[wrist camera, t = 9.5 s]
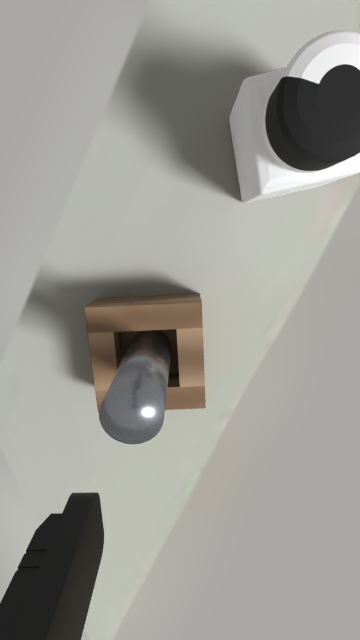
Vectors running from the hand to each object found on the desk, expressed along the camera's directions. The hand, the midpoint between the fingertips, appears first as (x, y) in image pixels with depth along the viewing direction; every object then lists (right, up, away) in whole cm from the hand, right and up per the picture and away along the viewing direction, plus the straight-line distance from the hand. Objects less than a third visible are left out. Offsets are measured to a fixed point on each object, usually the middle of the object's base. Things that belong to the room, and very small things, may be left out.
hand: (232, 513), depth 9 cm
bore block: (-4, +3, +23) cm, 23 cm away
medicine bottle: (+7, +20, +18) cm, 28 cm away
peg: (-4, +3, +22) cm, 22 cm away
